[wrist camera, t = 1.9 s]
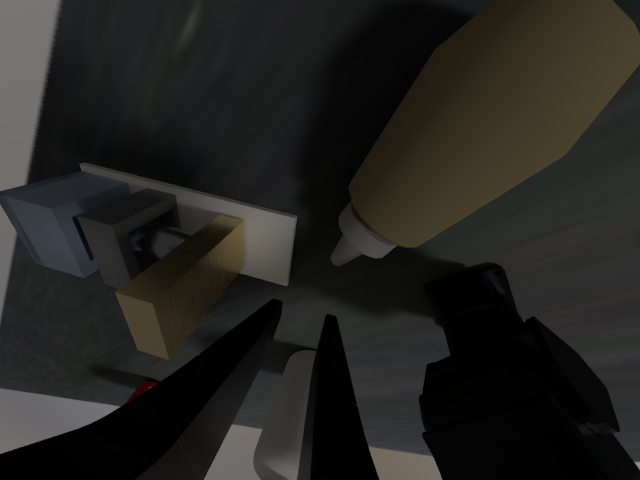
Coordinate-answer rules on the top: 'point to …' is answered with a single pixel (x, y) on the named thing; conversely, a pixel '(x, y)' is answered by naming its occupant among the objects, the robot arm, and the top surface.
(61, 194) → the socket
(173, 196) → the sleeve
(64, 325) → the top surface
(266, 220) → the board
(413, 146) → the squeeze bottle
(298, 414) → the pill bottle
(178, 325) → the tube
